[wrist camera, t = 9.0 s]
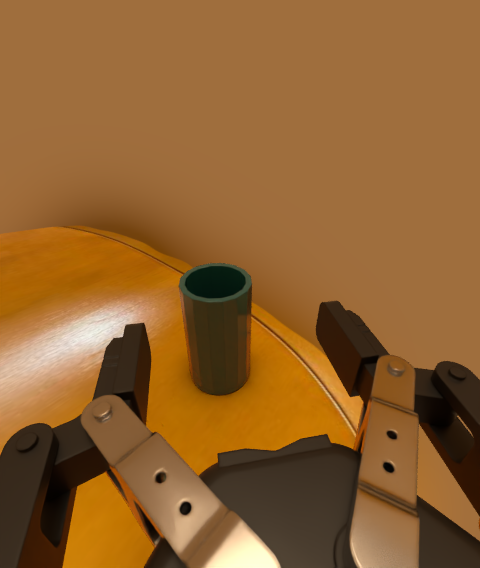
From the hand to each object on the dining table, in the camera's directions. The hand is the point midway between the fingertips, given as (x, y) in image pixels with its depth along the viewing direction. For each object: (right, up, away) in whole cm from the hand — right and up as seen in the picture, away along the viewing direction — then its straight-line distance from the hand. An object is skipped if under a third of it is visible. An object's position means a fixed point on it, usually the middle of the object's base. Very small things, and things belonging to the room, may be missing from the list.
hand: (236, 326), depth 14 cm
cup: (-2, -7, +18) cm, 19 cm away
